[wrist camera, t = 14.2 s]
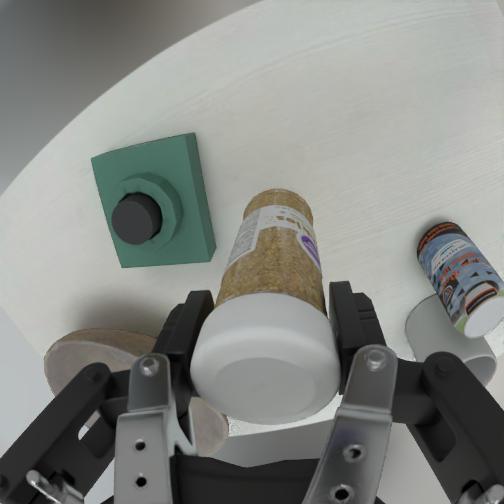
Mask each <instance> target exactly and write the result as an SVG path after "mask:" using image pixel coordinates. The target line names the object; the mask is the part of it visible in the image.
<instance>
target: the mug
mask: <svg viewBox="0 0 504 504" xmlns="http://www.w3.org/2000/svg"><path fill="white" fill-rule="evenodd" d="M406 336H407V339H408V341H409V343H410V346H411V348H412V350H413V353H414V355H415V358H416V360H417V362H424V361H425V359H426V358H427V357H428V356H429V355H430V354H432V353H435V352H439V351H445V352H450V353H453V354H455V355H456V356H458V357H459V358H460V359H461V360H462V361H463V363H464V364H465V365H466V366H467V367H468V368H469V369H470V371H471V372H472V373H473V374H474V375H475V376H476V378H477V379H478V380H479V381H480V382H481V384H482V385H483V386H484V387H485V386H486V385H487V384H488V383H489V382H490V380H491V379H492V378H493V376H494V374H495V371H496V369H497V359H496V357H495V355H494V353H493V351H492V350H491V348H490V346H489V345H488V343H487V341H486V340H485V338H484V336H482V337H479V338H468V337H466V336H465V334H464V333H461V332H460V331H458V330H457V329H456V328H455V327H454V326H453V324H452V322H451V320H450V318H449V316H448V314H447V312H446V310H445V308H444V306H443V304H442V302H441V300H440V299H439V297H438V295H437V294H436V295H433V296H431V297H429V298H427V299H425V300H424V301H422V302H421V303H420V304H419V305H418V306H417V307H416V308H415V309H414V310H413V311H412V313H411V314H410V316H409V318H408V320H407V323H406Z"/></svg>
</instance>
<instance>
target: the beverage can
mask: <svg viewBox="0 0 504 504" xmlns="http://www.w3.org/2000/svg"><path fill="white" fill-rule="evenodd" d="M417 258H418V261H419V263H420V265H421V266H422V268H423V270H424V272H425V273H426V275H427V277H428V279H429V280H430V282H431V284H432V286H433V287H434V289H435V291H436V293H437V295H438V297H439V299H440V300H441V302H442V304H443V306H444V308H445V310H446V312H447V314H448V316H449V318H450V320H451V322H452V324H453V326H454V327H455V328H456V329H457V330H458V331H460V332H461V333H464V334H465V336H466V337H468V338H479V337H482V336H484V335H486V334H488V333H489V332H491V331H492V330H493V329H495V328H496V327H497V326H498V325H499V324H500V323H501V322H502V320H503V319H504V282H503V281H502V279H501V278H500V277H499V275H498V274H497V273H496V271H495V270H494V269H493V267H492V266H491V265H490V263H489V262H488V261H487V259H486V258H485V257H484V256H483V254H482V253H481V252H480V251H479V249H478V248H477V247H476V246H475V244H474V243H473V242H472V241H471V240H470V238H469V237H468V236H467V235H466V234H465V232H464V231H463V230H462V229H461V228H460V227H459V226H458V225H457V224H455V223H452V222H443V223H439V224H437V225H435V226H433V227H432V228H430V229H429V230H428V231H427V232H426V233H425V234H424V236H423V237H422V239H421V240H420V242H419V245H418V248H417Z"/></svg>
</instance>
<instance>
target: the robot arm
mask: <svg viewBox="0 0 504 504" xmlns="http://www.w3.org/2000/svg"><path fill="white" fill-rule="evenodd" d="M214 307H215V306H214V302H213V298H212V294H211V292H210V291H209V290H201V291H191V292H190V293H189V295H188V297H187V299H186V302H185V303H184V304H178V305H177V306H176V307H175V308H174V309H173V310H172V311H171V312H170V314H169V316H168V318H167V320H166V322H165V324H164V326H163V329H162V330H161V332H160V334H159V336H158V338H157V341H156V343H155V345H154V347H153V349H152V351H151V353H147V354H144V355H142V356H140V357H139V358H138V359H136V360H135V361H134V363H133V364H132V366H131V369H128V370H123V371H117V372H111V370H110V369H109V367H108V366H107V365H106V364H104V363H101V362H95V363H91V364H89V365H87V366H85V367H84V368H83V369H81V370H80V371H79V373H78V374H77V375H76V376H75V377H74V378H73V379H72V380H71V381H70V382H69V383H68V384H67V385H66V386H65V387H64V388H63V389H62V391H61V392H60V393H59V394H58V395H57V396H56V397H55V398H54V399H53V400H52V401H51V403H49V405H48V406H47V407H46V408H45V409H44V410H43V411H42V412H41V413H40V414H39V416H38V417H37V418H36V419H35V420H34V421H33V422H32V423H31V424H30V425H29V427H28V428H27V429H26V430H25V431H24V432H23V433H22V434H21V436H20V437H19V438H18V439H17V440H16V441H15V442H14V443H13V445H12V446H11V447H10V448H9V449H8V450H7V452H6V453H5V454H4V455H3V456H2V457H1V458H0V503H1V504H84V497H85V496H86V495H87V493H88V492H89V490H90V489H91V488H92V487H93V485H94V484H95V483H96V481H97V480H98V479H99V477H100V476H101V475H102V473H103V472H104V471H105V469H106V468H107V467H108V465H109V464H110V462H111V461H112V460H113V458H114V457H115V463H114V495H113V496H111V497H110V498H108V499H107V500H105V501H104V502H102V503H101V504H385V503H384V502H383V501H382V500H380V499H379V498H378V497H377V496H376V494H377V490H378V486H379V482H380V478H381V474H382V470H383V466H384V461H385V457H386V452H387V447H388V442H389V437H390V432H391V426H392V422H396V423H405V424H406V426H407V427H408V429H409V431H410V432H411V434H412V435H413V437H414V439H415V441H416V442H417V444H418V446H419V447H420V449H421V451H422V453H423V454H424V456H425V458H426V460H427V461H428V463H429V465H430V466H431V468H432V470H433V472H434V473H435V475H436V477H437V479H438V480H439V482H440V484H441V486H442V488H443V489H444V491H445V493H446V495H447V497H448V498H449V500H450V502H451V504H504V411H503V409H502V408H501V407H500V406H499V404H498V403H497V402H496V401H495V400H494V398H493V397H492V396H491V395H490V393H489V392H488V391H487V390H486V388H485V387H484V386H483V385H482V384H481V382H480V381H479V380H478V379H477V378H476V376H475V375H474V374H473V373H472V372H471V371H470V369H469V368H468V367H467V366H466V365H465V364H464V363H463V361H462V360H461V359H460V358H459V357H458V356H456V355H455V354H453V353H450V352H445V351H439V352H435V353H432V354H430V355H429V356H428V357H427V358H426V359H425V361H424V362H414V361H406V360H403V359H400V358H398V357H397V356H396V354H395V352H394V351H393V350H392V349H390V348H388V347H387V345H386V342H385V339H384V336H383V333H382V330H381V327H380V324H379V321H378V319H377V315H376V312H375V311H374V307H373V304H372V301H371V299H370V298H368V297H367V296H366V295H365V294H364V293H352V290H351V286H350V283H349V281H339V282H330V284H329V319H330V323H331V324H332V326H333V328H334V330H335V333H336V336H337V341H338V347H339V353H340V363H341V382H340V386H339V390H338V391H339V395H343V398H342V401H341V405H340V407H338V408H337V411H336V414H335V417H334V420H333V423H332V426H331V429H330V432H329V435H328V438H327V441H326V444H325V446H324V449H323V452H322V455H321V458H319V459H301V460H283V461H279V462H274V463H270V464H265V465H260V466H255V467H248V468H246V467H241V466H237V465H234V464H230V463H227V462H224V461H220V460H217V459H214V458H210V457H200V456H199V455H198V452H197V448H196V441H195V433H194V426H193V418H192V410H191V407H190V405H189V404H190V401H191V397H199V398H201V396H200V395H199V394H198V392H197V391H196V389H195V387H194V385H193V383H192V380H191V374H190V366H191V360H192V356H193V353H194V349H195V346H196V343H197V340H198V337H199V334H200V331H201V328H202V326H203V323H204V322H205V320H206V318H207V317H208V316H209V314H210V313H211V312H212V311H213V310H214ZM95 411H97V413H98V414H99V415H100V417H99V418H98V419H97V420H96V422H95V423H94V424H93V425H92V426H91V428H90V429H89V430H88V431H87V433H86V434H85V435H84V436H83V437H82V439H81V440H79V439H78V433H79V431H80V429H81V428H82V427H83V425H84V424H85V423H86V422H87V421H88V420H89V418H90V417H91V416H92V415H93V414H94V412H95Z"/></svg>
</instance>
